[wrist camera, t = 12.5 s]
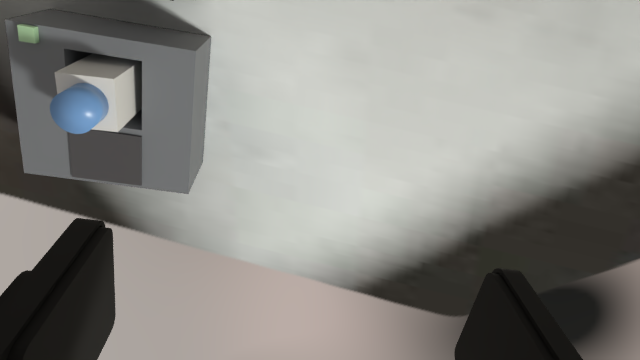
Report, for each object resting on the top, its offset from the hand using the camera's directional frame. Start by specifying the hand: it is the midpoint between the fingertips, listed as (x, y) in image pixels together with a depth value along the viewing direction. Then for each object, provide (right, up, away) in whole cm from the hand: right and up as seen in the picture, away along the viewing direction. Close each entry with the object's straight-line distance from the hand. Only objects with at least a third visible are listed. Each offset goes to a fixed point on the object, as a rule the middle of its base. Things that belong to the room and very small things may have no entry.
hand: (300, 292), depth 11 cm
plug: (-15, +11, +24) cm, 30 cm away
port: (-15, +10, +26) cm, 32 cm away
